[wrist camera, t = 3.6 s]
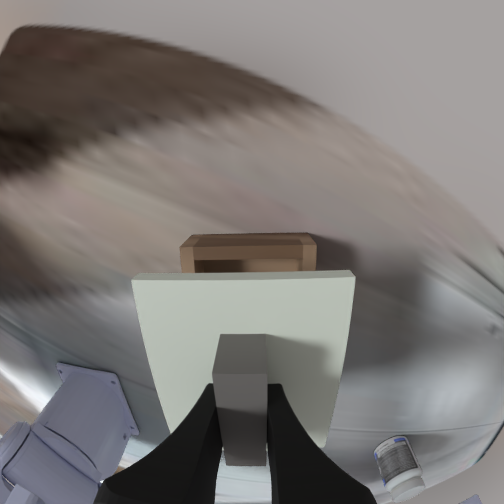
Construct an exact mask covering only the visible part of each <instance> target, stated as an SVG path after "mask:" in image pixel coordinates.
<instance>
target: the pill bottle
mask: <svg viewBox="0 0 504 504" xmlns="http://www.w3.org/2000/svg"><path fill="white" fill-rule="evenodd" d="M374 456H375V459H376V462H377V465H378V468H379V471H380V474H381V477H382V479H383V483H384V486H385V488H386V490H387V491H390V492H391V493H390V494H391V497H392V500H393V502H394V503H399V502H403V501H406V500H408V499H410V498H412V497H414V496H416V495H417V494H419V493H420V492H421V491H423V490H424V488H425V484H424V482H423V479H422V478H421V476H422V469H421V467H420V464H419V462H418V460H417V458H416V456H415V454H414V452H413V449H412V447H411V445H410V443H409V441H408V439H407V438H406V437H405V436H395V437H392V438H390V439H388V440H386V441H384V442H383V443H381V444H380V445H379V446H378V447H377V448H376V449H375V451H374Z"/></svg>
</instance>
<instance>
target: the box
mask: <svg viewBox="0 0 504 504" xmlns="http://www.w3.org/2000/svg"><path fill="white" fill-rule="evenodd" d="M316 253H317V244H316V243H315V242H314V241H313V239H312V238H311V237H310V236H309V234H308V233H249V234H206V235H191V236H190V237H189V238H188V239H187V240H186V241H185V242H184V243H183V244H182V245H181V246H180V257H181V267H182V273H243V272H295V271H316Z"/></svg>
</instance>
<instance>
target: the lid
mask: <svg viewBox="0 0 504 504" xmlns="http://www.w3.org/2000/svg"><path fill="white" fill-rule="evenodd" d="M355 278H356V277H355V276H354V275H353V273H352V272H351V271H350V270H331V271H295V272H243V273H138V274H137V275H136V276H135V277H134V278H133V279H132V280H131V281H132V287H133V293H134V298H135V304H136V309H137V314H138V319H139V323H140V328H141V332H142V337H143V341H144V345H145V349H146V353H147V357H148V361H149V365H150V369H151V373H152V376H153V380H154V383H155V387H156V390H157V394H158V397H159V400H160V403H161V406H162V410H163V413H164V416H165V419H166V422H167V425H168V428H169V430H170V433H172V432H173V431H174V430H175V429H176V428H177V427H178V425H179V424H180V423H181V422H182V421H183V420H184V418H185V417H186V416H187V415H188V413H189V412H190V410H191V409H192V408H193V406H194V405H195V403H196V402H197V400H198V399H199V397H200V396H201V394H202V392H203V391H204V389H205V387H206V385H207V384H208V383H213V386H214V393H215V400H216V407H217V413H218V419H219V426H220V432H221V438H222V443H223V448H222V450H224V455H225V460H226V465H228V466H266V451H268V450H267V384H276V383H280V384H281V385H282V386H283V389H284V392H285V395H286V397H287V400H288V402H289V404H290V406H291V408H292V410H293V411H294V413H295V415H296V416H297V418H298V420H299V421H300V423H301V425H302V426H303V428H304V429H305V430H306V432H307V433H308V435H309V436H310V437H311V439H312V440H313V441H314V442H315V443H316V445H317V446H318V447H325V443H326V440H327V436H328V432H329V428H330V424H331V420H332V416H333V412H334V407H335V403H336V398H337V394H338V389H339V384H340V379H341V374H342V369H343V363H344V358H345V352H346V346H347V340H348V333H349V327H350V320H351V312H352V304H353V296H354V287H355Z"/></svg>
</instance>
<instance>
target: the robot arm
mask: <svg viewBox="0 0 504 504" xmlns="http://www.w3.org/2000/svg"><path fill="white" fill-rule="evenodd" d="M56 368H57V370H58V373H59V375H60V377H61V379H62V382H63V384H62V385H61V387H60V388H59V389H58V390H57V392H56V393H55V394H54V396H53V397H52V398H51V400H50V401H49V402H48V404H47V405H46V406H45V407H44V409H43V410H42V412H41V413H40V414H39V416H38V417H37V418H36V420H35V421H34V422H33V424H32V425H29V424H28V423H27V422H26V421H24V422H20V421H17V422H16V423H15V424H14V425H13V426H12V427H11V428H10V429H9V430H8V431H7V432H6V433H5V434H4V436H3V437H2V438H1V440H0V504H214V502H215V489H216V479H217V472H218V468H219V463H220V458H221V453H222V448H223V443H222V438H221V432H220V426H219V419H218V413H217V407H216V400H215V393H214V386H213V383H208V384H207V385H206V387H205V389H204V391H203V392H202V394H201V396H200V397H199V399H198V400H197V402H196V403H195V405H194V406H193V408H192V409H191V410H190V412H189V413H188V415H187V416H186V417H185V418H184V420H183V421H182V422H181V423H180V424H179V425H178V427H177V428H176V429H175V430H174V431H173V432H172V433H171V434H170V435H169V436H168V437H167V438H166V439H165V440H164V441H163V442H162V443H161V444H160V445H159V446H157V447H156V448H155V449H154V450H153V451H151V452H150V453H149V454H148V455H146V456H145V457H143V458H142V459H140V460H139V461H137V462H136V463H134V464H133V465H131V466H130V467H128V468H126V469H124V470H122V471H120V472H118V473H116V474H114V475H112V474H113V473H114V472H115V471H116V469H117V467H118V465H119V462H120V460H121V458H122V455H123V453H124V450H125V448H126V445H127V443H128V441H129V438H130V436H131V435H139V430H138V428H137V425H136V423H135V421H134V418H133V416H132V414H131V411H130V409H129V406H128V404H127V401H126V399H125V396H124V393H123V391H122V388H121V385H120V382H119V380H118V377H117V375H116V374H114V373H110V372H104V371H98V370H92V369H87V368H82V367H77V366H72V365H68V364H63V363H57V364H56ZM267 450H268V457H269V465H270V472H271V485H272V504H377V503H376V500H375V498H374V496H373V494H372V493H371V491H370V489H369V488H367V487H366V486H364V485H363V484H361V483H359V482H358V481H357V480H355V479H354V478H352V477H351V476H350V475H348V474H347V473H346V472H344V471H343V470H342V469H341V468H340V467H338V466H337V465H336V464H335V463H334V462H333V461H332V460H331V459H330V458H329V457H327V456H326V455H325V453H324V452H323V451H322V450H321V449H320V448H319V447H318V446H317V445H316V443H315V442H314V441H313V440H312V439H311V437H310V436H309V435H308V433H307V432H306V430H305V429H304V428H303V426H302V425H301V423H300V421H299V420H298V418H297V416H296V415H295V413H294V411H293V410H292V408H291V406H290V404H289V402H288V400H287V397H286V395H285V392H284V389H283V386H282V385H281V384H280V383H276V384H267ZM2 475H3V476H4V477H5V478H6V479H7V480H8V481H9V482H11V483H12V484H13V485H14V486H15V487H13V486H12V485H11V484H9V483H8V482H7V481H6V479H5V478H4V477H3V476H2ZM111 475H112V476H111ZM102 480H104V481H103V483H100V481H102ZM459 504H482V503H481V500H480V498H479V496H478V495H474V496H472V497H471V498H468V499H466V500H465V501H463V502H461V503H459Z"/></svg>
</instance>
